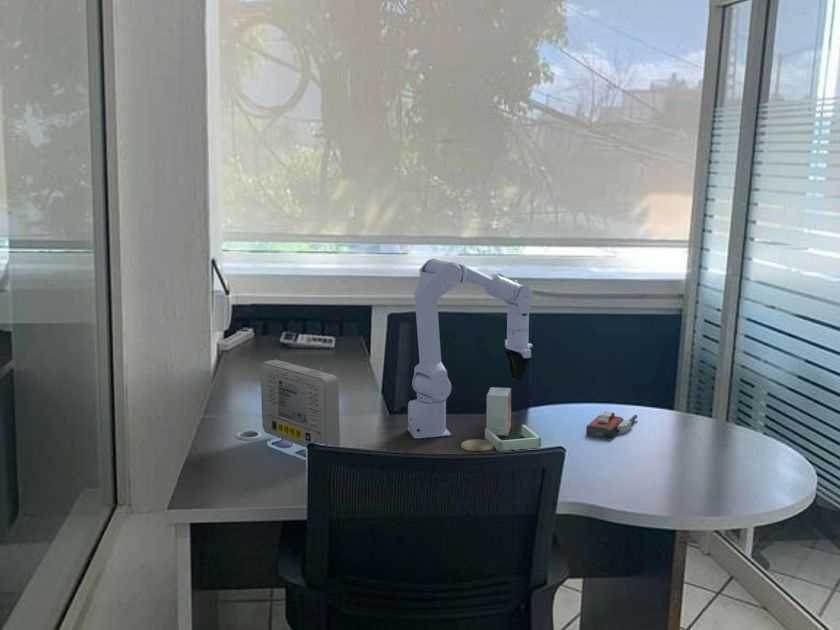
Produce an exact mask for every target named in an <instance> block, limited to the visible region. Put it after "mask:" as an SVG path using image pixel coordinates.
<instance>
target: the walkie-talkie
mask: <svg viewBox="0 0 840 630" xmlns="http://www.w3.org/2000/svg"><path fill="white" fill-rule="evenodd" d="M637 418H638V415H637V414H634V415H633V416H631V418H629V419H628V420H624V418H623V417H621V416H618V415H617V416H616V415H615V412H611V411H605V412H604V413H602V414H599V415H598V416H596V418H595V419H593V420H592V421H591V422H590V423H589V424H587V425H586V428H585V429H586V431H585V432H586V433H585V435H586V436H587V437H591V436H592V437H593V438H598V439H605V440H611V439H612V438H614V436H616V435H621V434H626V433H627V432H628V431H630V430H631V429H632V427H633V426H632V424H633V422H635V421H636V419H637ZM592 437H591V438H592Z"/></svg>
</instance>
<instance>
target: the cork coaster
mask: <svg viewBox="0 0 840 630" xmlns="http://www.w3.org/2000/svg"><path fill="white" fill-rule="evenodd" d="M460 447H461V448H462V449H463V450H464V449H465V451H467V450H468V452H473V451H482V450H489V451H491V450H493V449H495V447H494V445H493V444H492V443H491V442H490V441H487V440H486V439H468V440H465V441H462V442H461V445H460Z"/></svg>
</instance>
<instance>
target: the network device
mask: <svg viewBox="0 0 840 630" xmlns="http://www.w3.org/2000/svg"><path fill="white" fill-rule="evenodd" d="M259 370H260V373H259V374H260V377H259V378H260V394H261V395H260V397H261V419H262V422H261V423H262V429H263V431H264V433H266V434H268V435H271V436H274V437H275V438H281V439H284V440H283V441H287V442H290V443H292V444H293V443H295V444H297V445H300V446H303V447H306V445H307V444H308V443H319V444H325V445H333V446H340V447H341V437H340V436H341V434H340V433H341V431H340V429H341V428H340V401H339V399H340V395H339V393H340V392H339V380H338V377H337V376H336V374H332V373H331V374H330V373H327V372H324V371H320V370H316V369H312V368H309V367H304V366H301V365H297V364H293V363H290V362H286V361H283V360H278V359H273V360H267V361H262V362H261V363H260V365H259Z"/></svg>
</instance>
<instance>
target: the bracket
mask: <svg viewBox="0 0 840 630" xmlns="http://www.w3.org/2000/svg"><path fill="white" fill-rule="evenodd" d="M521 436H523V437H524V438H516V439H515V438H514V439H506V440H502V439H500V438H499V437H498V435H495V434H494V433H493V432H492V431H491V430H489V429H488V428H487V427H486V428H484V440H487V441H490V442H491V443H492V444H493V445H494V449H496V451H498V450H499V451H502V450H510V449H513V450H515V451H520V450H519V449H525V450H532V449H531V448H535V449H540V448H539V447H541V448H542V438H541V436H540V435H538V434H537V433H535V432H534V431H533V430H532V429H531V428H530V427H529V426H527V425H525V424H522V425H521ZM499 451H498V452H499Z"/></svg>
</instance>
